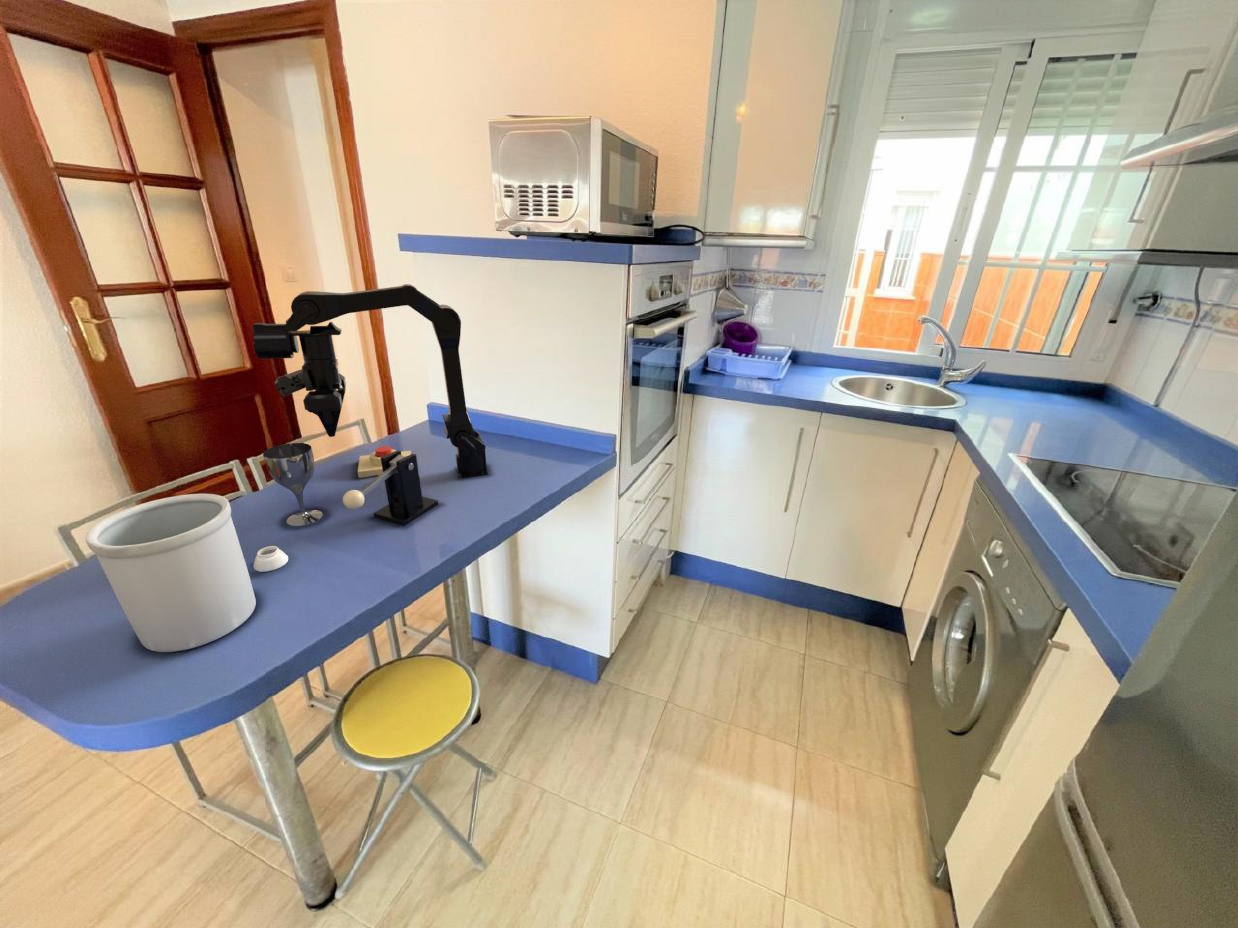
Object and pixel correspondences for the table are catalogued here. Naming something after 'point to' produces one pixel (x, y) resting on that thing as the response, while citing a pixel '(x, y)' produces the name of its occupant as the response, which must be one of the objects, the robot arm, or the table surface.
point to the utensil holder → (176, 570)
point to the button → (383, 451)
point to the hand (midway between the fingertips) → (333, 429)
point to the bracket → (403, 492)
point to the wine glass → (293, 475)
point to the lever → (369, 486)
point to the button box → (373, 464)
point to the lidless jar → (270, 559)
